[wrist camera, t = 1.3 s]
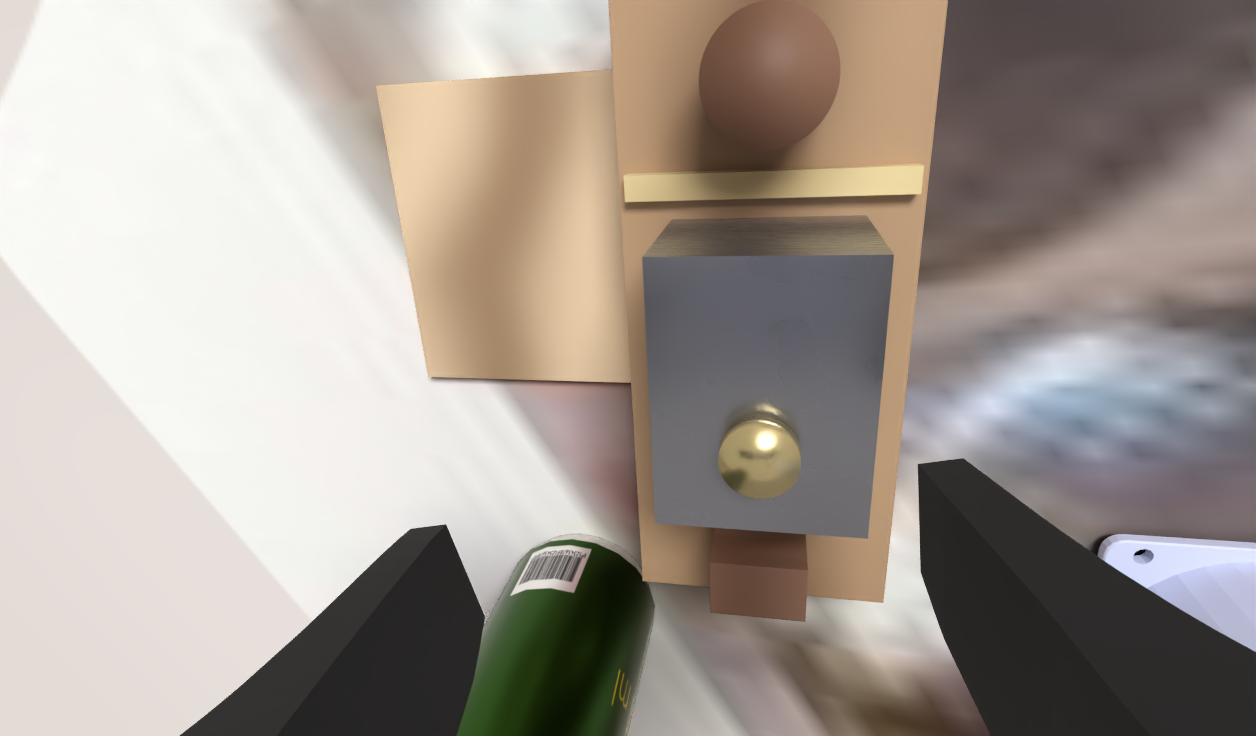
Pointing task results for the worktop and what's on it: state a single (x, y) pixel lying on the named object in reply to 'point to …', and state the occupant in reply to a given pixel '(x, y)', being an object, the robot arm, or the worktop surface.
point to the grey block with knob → (766, 371)
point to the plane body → (775, 187)
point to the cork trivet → (512, 224)
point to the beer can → (563, 644)
